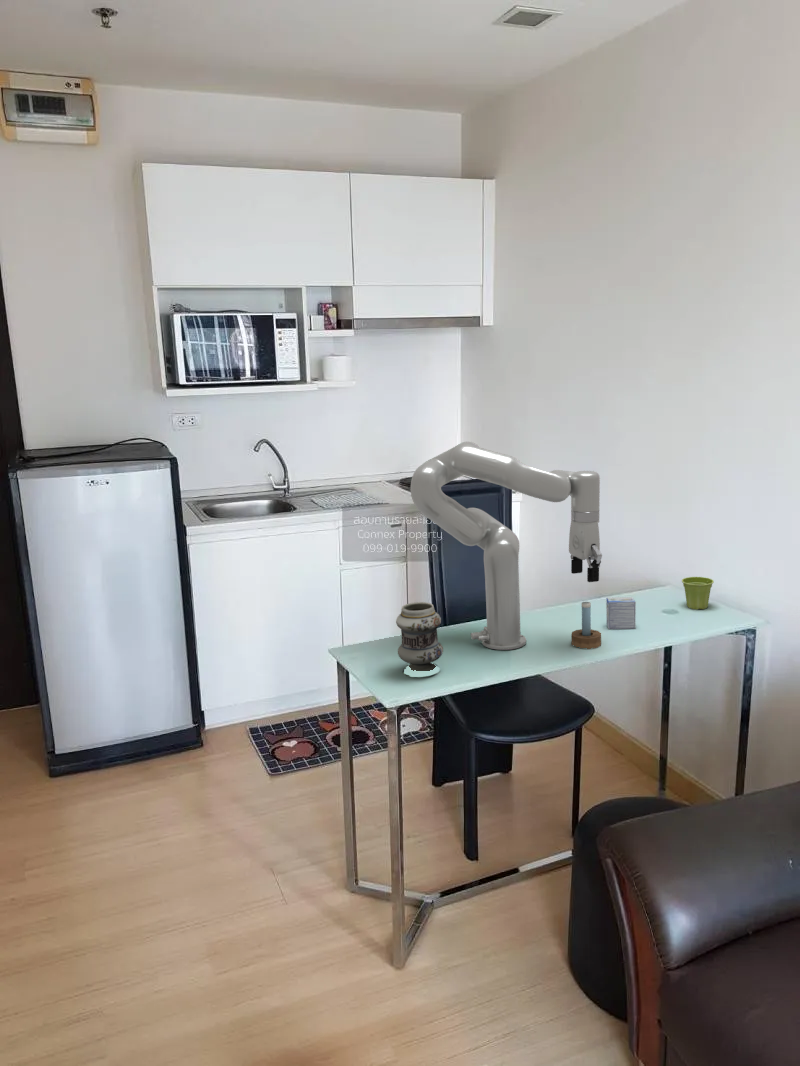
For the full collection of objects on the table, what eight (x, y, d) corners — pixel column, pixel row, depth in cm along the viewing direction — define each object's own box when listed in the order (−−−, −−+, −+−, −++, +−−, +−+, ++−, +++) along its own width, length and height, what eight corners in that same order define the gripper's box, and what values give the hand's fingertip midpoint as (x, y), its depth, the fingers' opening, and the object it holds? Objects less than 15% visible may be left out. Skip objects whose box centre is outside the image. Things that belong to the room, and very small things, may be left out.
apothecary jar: (418, 659, 223) (414, 597, 220) (453, 668, 216) (450, 603, 212) (389, 673, 214) (385, 608, 211) (424, 683, 207) (421, 615, 203)
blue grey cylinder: (584, 645, 227) (584, 604, 225) (580, 643, 229) (579, 602, 227) (592, 644, 228) (592, 603, 225) (588, 641, 230) (588, 601, 228)
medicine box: (633, 624, 243) (633, 596, 241) (635, 629, 239) (635, 600, 237) (606, 624, 244) (606, 597, 242) (608, 629, 239) (608, 601, 238)
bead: (579, 650, 224) (579, 640, 223) (566, 641, 231) (566, 631, 231) (606, 646, 226) (606, 636, 225) (592, 637, 233) (592, 627, 233)
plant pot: (703, 613, 249) (704, 586, 248) (675, 607, 256) (676, 581, 254) (718, 606, 255) (719, 579, 254) (690, 601, 262) (691, 575, 261)
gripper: (558, 512, 228) (558, 571, 232) (587, 523, 212) (586, 586, 215) (583, 510, 230) (583, 568, 234) (613, 520, 214) (612, 583, 217)
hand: (584, 577), depth 225 cm, fingers open, 9 cm apart
